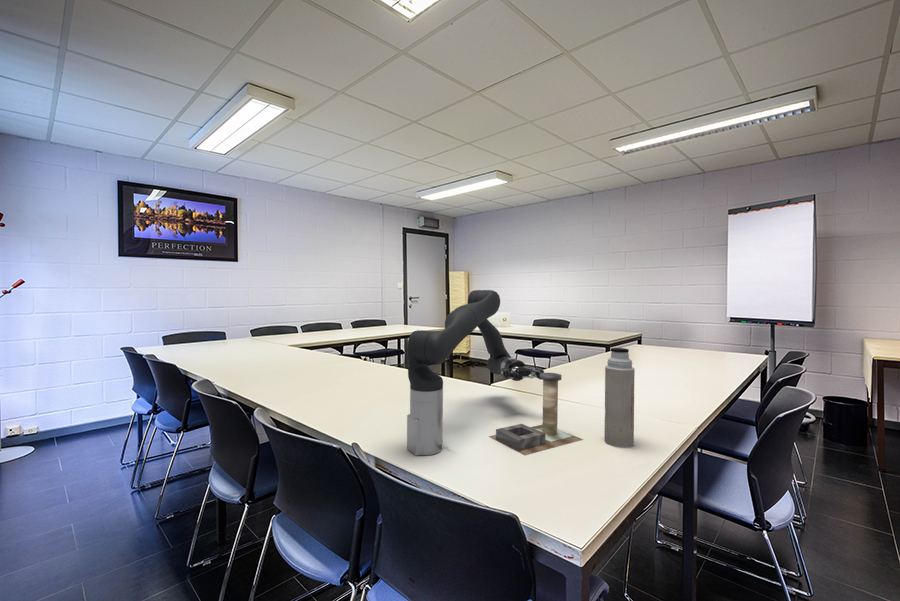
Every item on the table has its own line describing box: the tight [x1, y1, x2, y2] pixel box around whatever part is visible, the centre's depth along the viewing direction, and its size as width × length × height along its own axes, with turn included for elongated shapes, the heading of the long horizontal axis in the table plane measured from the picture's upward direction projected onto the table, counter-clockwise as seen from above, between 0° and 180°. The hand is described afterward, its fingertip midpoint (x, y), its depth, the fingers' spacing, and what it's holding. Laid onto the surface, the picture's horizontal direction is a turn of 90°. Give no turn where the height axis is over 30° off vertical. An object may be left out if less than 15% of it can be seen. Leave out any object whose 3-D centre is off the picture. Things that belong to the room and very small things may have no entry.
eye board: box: [488, 423, 584, 456], centre depth 115 cm, size 23×16×4 cm
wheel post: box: [539, 372, 562, 436], centre depth 118 cm, size 6×6×18 cm
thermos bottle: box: [603, 347, 636, 448], centre depth 114 cm, size 8×8×28 cm
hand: (530, 376), depth 129 cm, fingers open, 8 cm apart
